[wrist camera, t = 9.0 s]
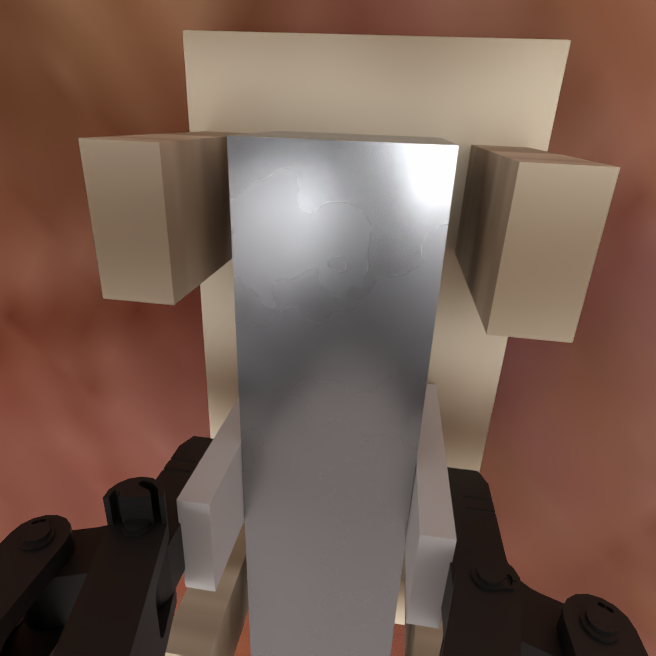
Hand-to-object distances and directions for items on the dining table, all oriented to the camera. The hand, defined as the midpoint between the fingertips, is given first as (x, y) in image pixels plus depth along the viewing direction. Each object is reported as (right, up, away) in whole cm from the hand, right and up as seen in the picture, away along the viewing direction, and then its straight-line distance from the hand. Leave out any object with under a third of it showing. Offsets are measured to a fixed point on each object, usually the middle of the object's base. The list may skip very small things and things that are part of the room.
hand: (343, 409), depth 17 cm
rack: (0, +1, +2) cm, 2 cm away
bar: (0, 0, 0) cm, 0 cm away
